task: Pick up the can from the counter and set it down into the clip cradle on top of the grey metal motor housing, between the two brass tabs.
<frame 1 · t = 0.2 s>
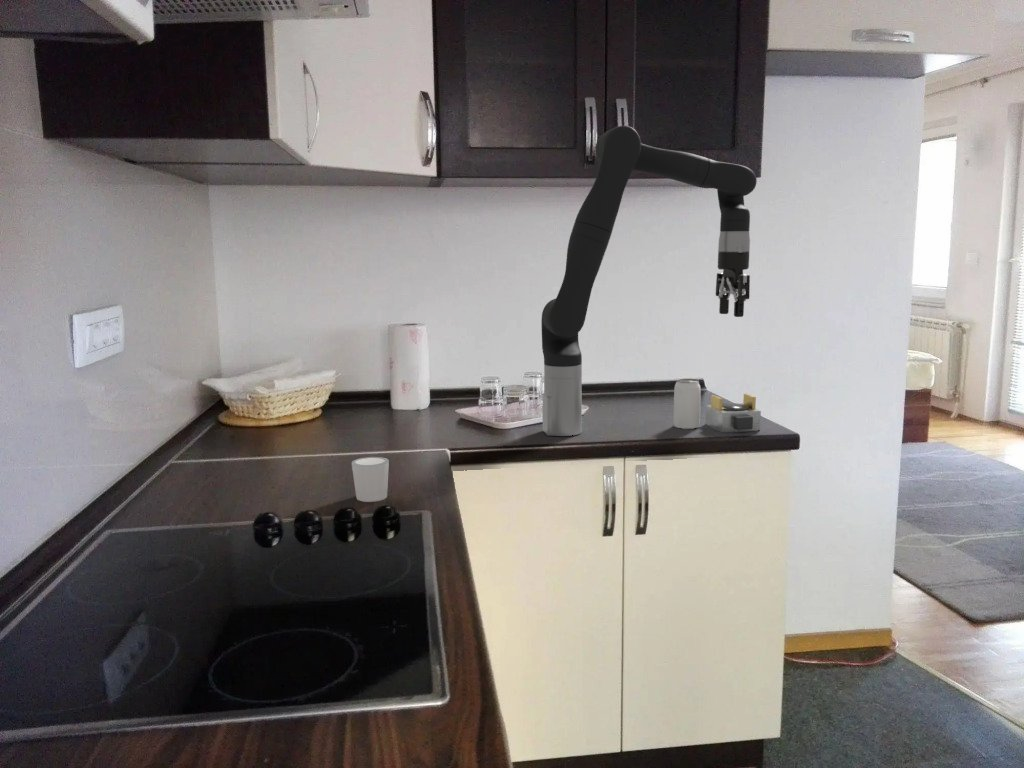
hand: (731, 315, 202), 28 cm above the table, tool pointing down, fingers open, 8 cm apart
can: (686, 427, 204), on the table
motor housing: (732, 427, 203), on the table
light grey cup: (371, 498, 150), on the table
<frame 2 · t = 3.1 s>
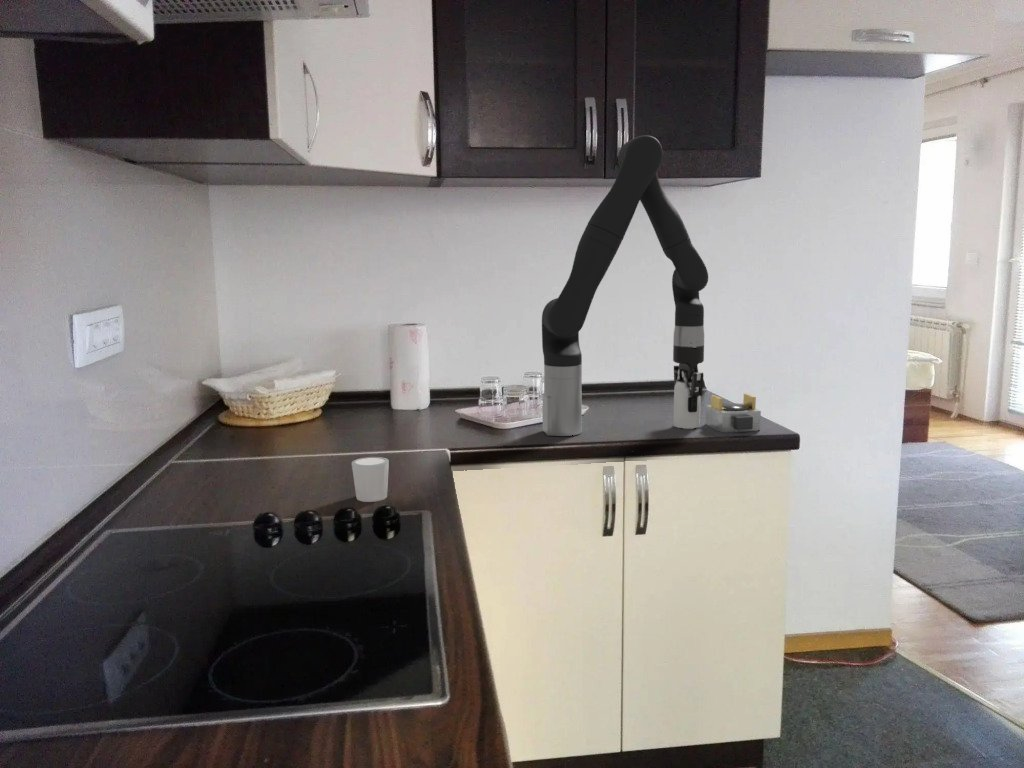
hand: (687, 409, 203), 5 cm above the table, tool pointing down, fingers closed on can, 6 cm apart
can: (686, 427, 204), on the table, touching gripper
everything else where it was.
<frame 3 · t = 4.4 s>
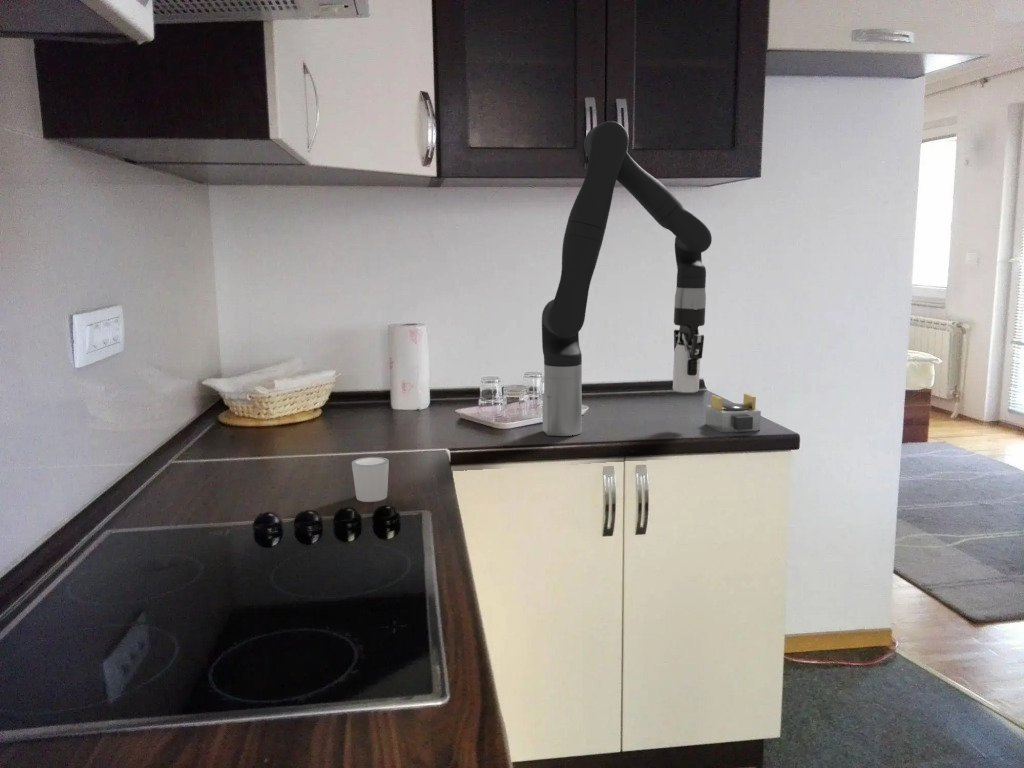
hand: (686, 372, 202), 14 cm above the table, tool pointing down, fingers closed on can, 6 cm apart
can: (685, 391, 203), point 9 cm above the table, touching gripper
everything else where it was.
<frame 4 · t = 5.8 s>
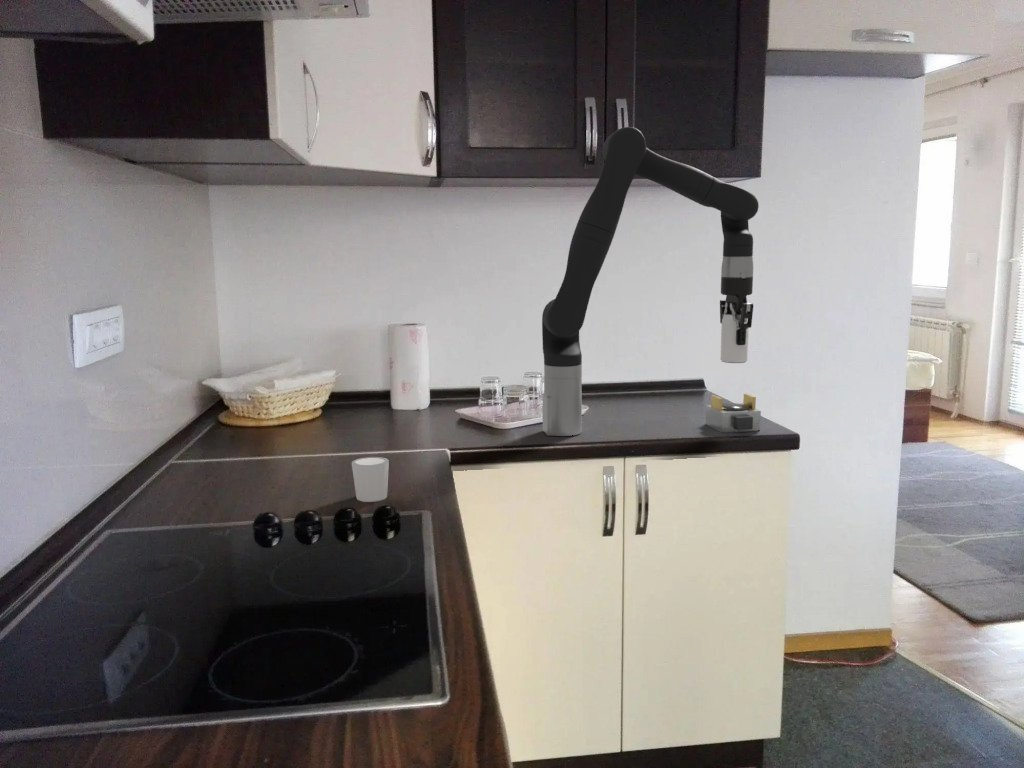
hand: (734, 343, 199), 21 cm above the table, tool pointing down, fingers closed on can, 6 cm apart
can: (733, 362, 200), point 17 cm above the table, touching gripper
everything else where it was.
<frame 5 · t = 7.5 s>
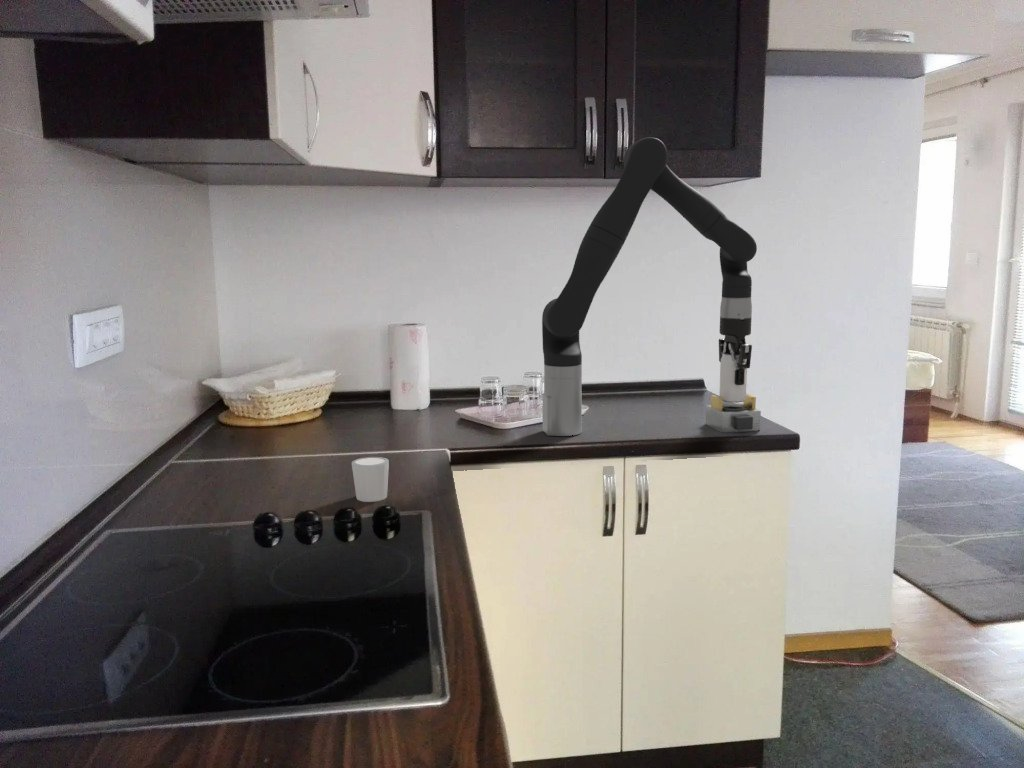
hand: (733, 382, 201), 12 cm above the table, tool pointing down, fingers closed on can, 6 cm apart
can: (732, 401, 202), point 7 cm above the table, touching gripper
everything else where it was.
when the fingers open (11 cm above the table, at t = 8.6 s): can stays where it is, resting on motor housing.
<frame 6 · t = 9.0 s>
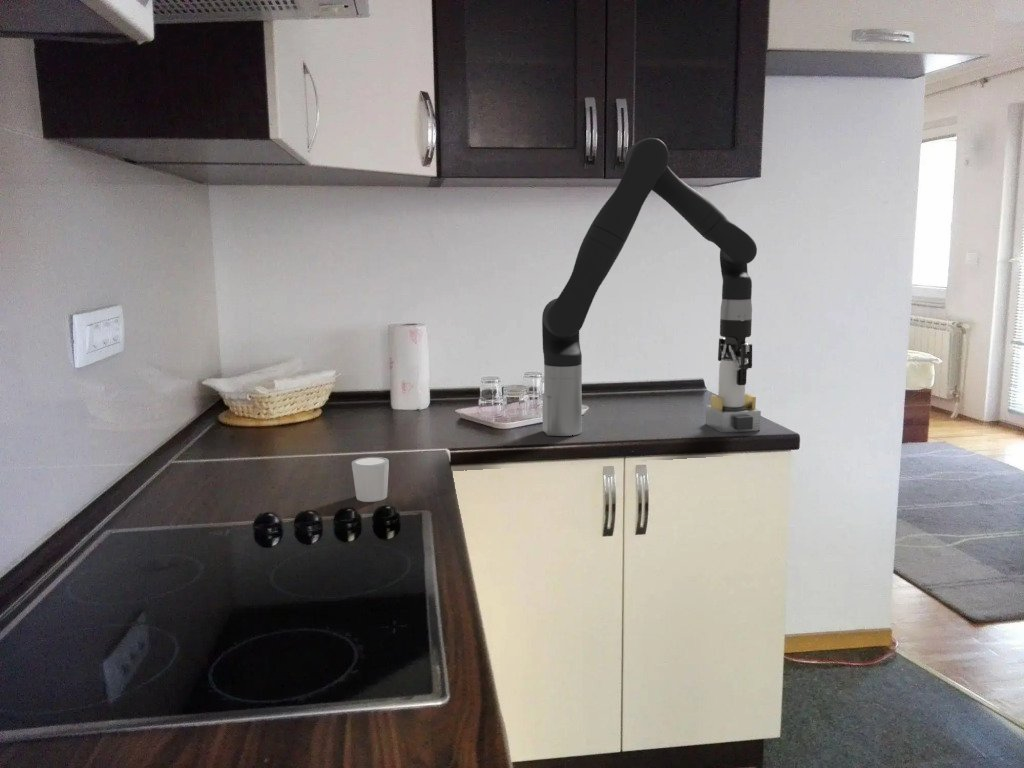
hand: (733, 382, 201), 12 cm above the table, tool pointing down, fingers open, 8 cm apart
can: (731, 406, 203), point 5 cm above the table, touching motor housing
everything else where it was.
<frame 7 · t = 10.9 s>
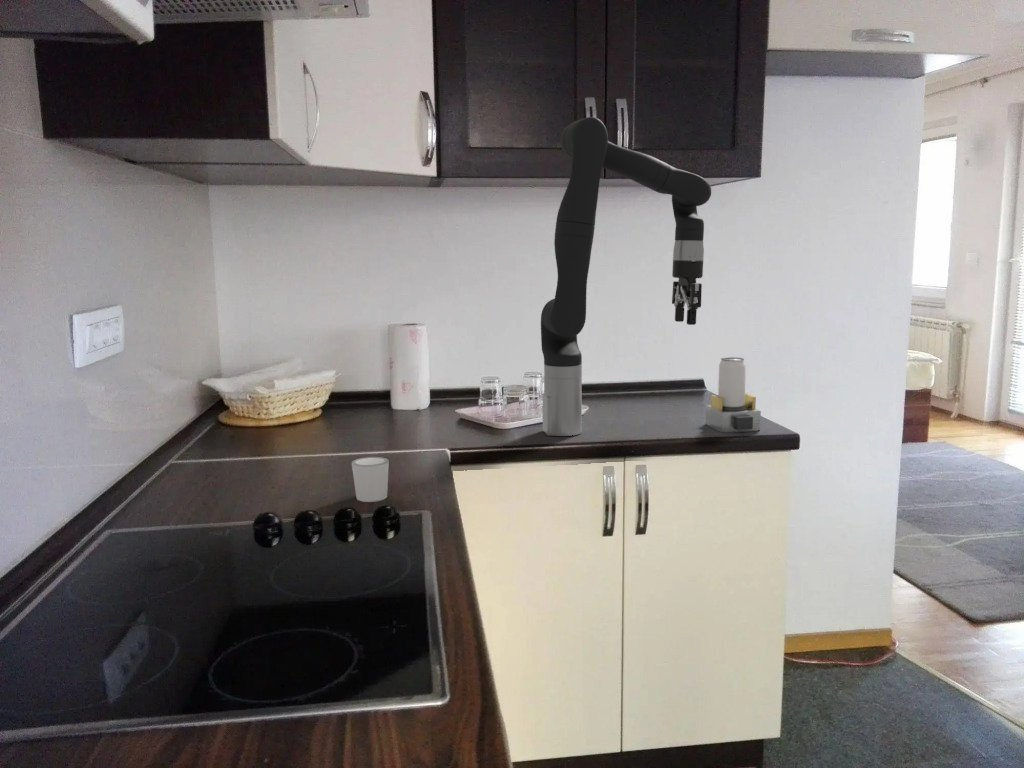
hand: (685, 323, 205), 26 cm above the table, tool pointing down, fingers open, 8 cm apart
nothing on the table moved.
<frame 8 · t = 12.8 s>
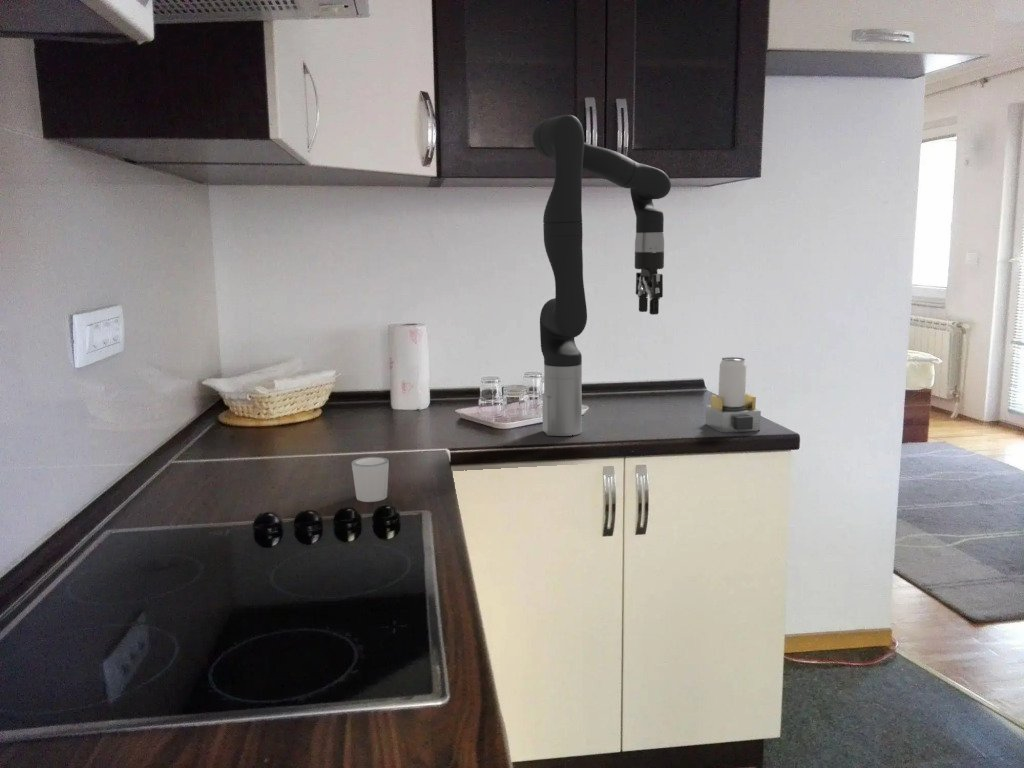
hand: (648, 313, 211), 28 cm above the table, tool pointing down, fingers open, 8 cm apart
nothing on the table moved.
at the end: can 0.5 cm off-centre on the motor housing, point 5.2 cm above the motor housing's base; can tilted 1°; the gripper is holding nothing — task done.
